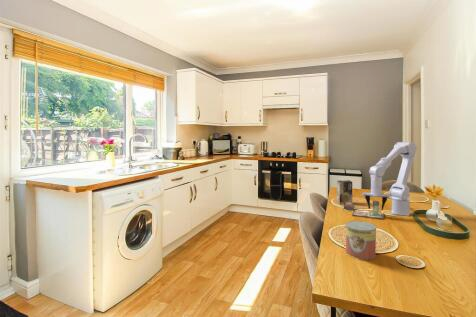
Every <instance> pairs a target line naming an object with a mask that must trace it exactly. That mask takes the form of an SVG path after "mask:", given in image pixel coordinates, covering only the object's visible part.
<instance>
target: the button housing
mask: <svg viewBox="0 0 476 317" xmlns="http://www.w3.org/2000/svg"><path fill="white" fill-rule="evenodd" d="M354 208H355V204H352V206H346V204H343V210H344V209H346V210H345V211H351V210H355V209H354Z"/></svg>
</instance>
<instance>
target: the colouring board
mask: <svg viewBox="0 0 476 317" xmlns="http://www.w3.org/2000/svg"><path fill="white" fill-rule="evenodd" d="M384 215H385V212H380V211H379V215H377V216H376V215H373V211H370V210H369V211H368V210H360V209H354V211H353V213H352V217H356V218H357V217H359V218H367V219H375V220H381V221H382V220H384Z"/></svg>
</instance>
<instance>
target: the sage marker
mask: <svg viewBox="0 0 476 317" xmlns="http://www.w3.org/2000/svg"><path fill="white" fill-rule="evenodd" d="M379 208H380V201H377V200H373V201H372V212H373V215H376V216H377V215H379V212H380V209H379Z"/></svg>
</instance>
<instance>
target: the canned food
mask: <svg viewBox="0 0 476 317" xmlns="http://www.w3.org/2000/svg"><path fill="white" fill-rule="evenodd" d="M345 227H346V228H345V253H346V252H347V253H348V254H349V255H351V256H353V257H355V258H354V259H356V258H358V259H357V260H361V259H366V260H365V261H369V260H368V259H371V260H373V258H374V259H375V258H376V255H377V254H376V247H377V246H376V243H377V242H376V241H377V240H376V238H377V226H376V225H374V224H373V223H370V222H367V221H362V220H361V221H359V220H352V221H347V222H346V223H345ZM349 255H348V256H349ZM351 256H350V257H351ZM353 257H352V258H353Z"/></svg>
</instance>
